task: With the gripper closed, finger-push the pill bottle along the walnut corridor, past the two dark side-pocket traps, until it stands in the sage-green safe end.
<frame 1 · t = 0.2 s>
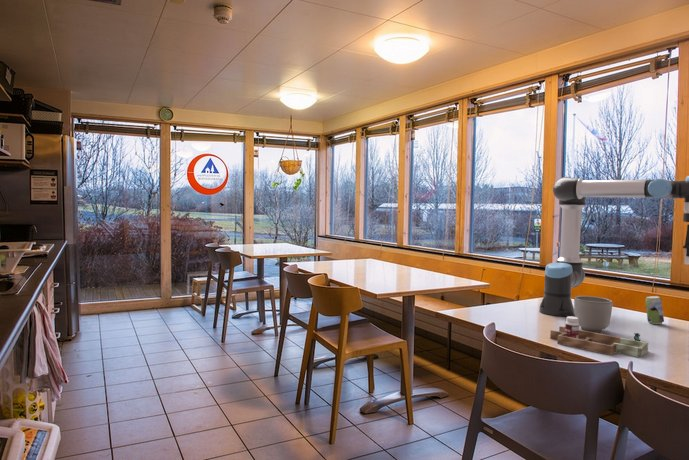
beverage can: (653, 323, 208), on the table
trap box: (594, 345, 171), on the table
planter: (591, 330, 193), on the table
pill bottle: (571, 339, 179), resting in trap box
sculpture: (638, 344, 177), on the table
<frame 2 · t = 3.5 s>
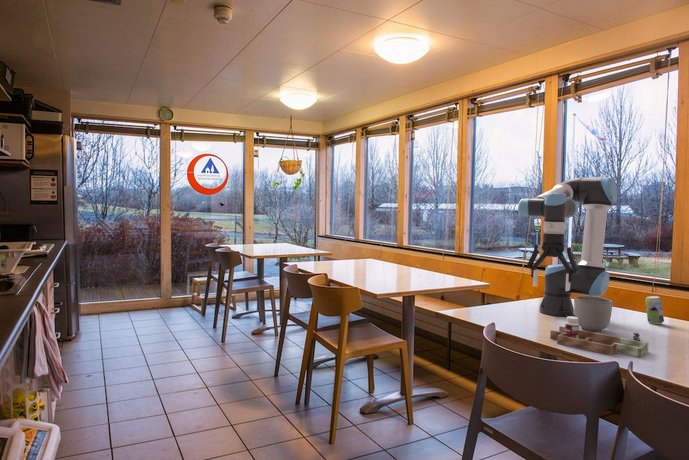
hand: (551, 288, 184), 18 cm above the table, fingers open, 12 cm apart
nothing on the table moved.
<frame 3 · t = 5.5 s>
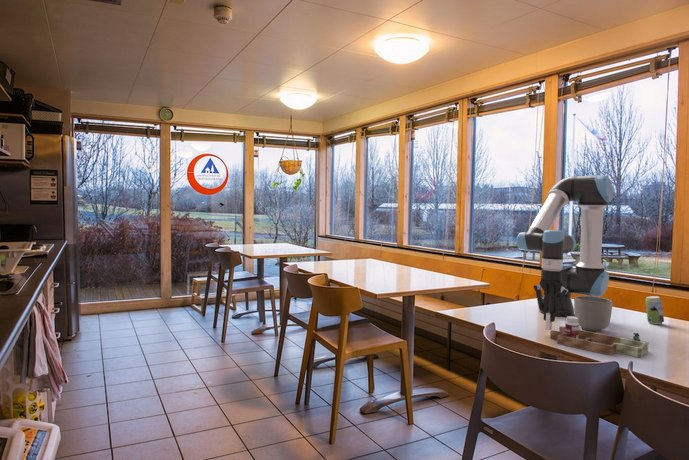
hand: (548, 329, 185), 2 cm above the table, fingers closed
nothing on the table moved.
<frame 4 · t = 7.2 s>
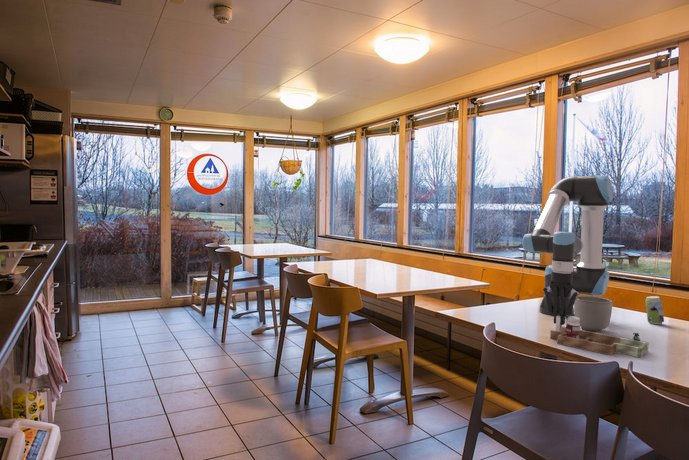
hand: (558, 332, 182), 2 cm above the table, fingers closed
pill bottle: (571, 339, 179), resting in trap box, touching gripper
everything else where it was.
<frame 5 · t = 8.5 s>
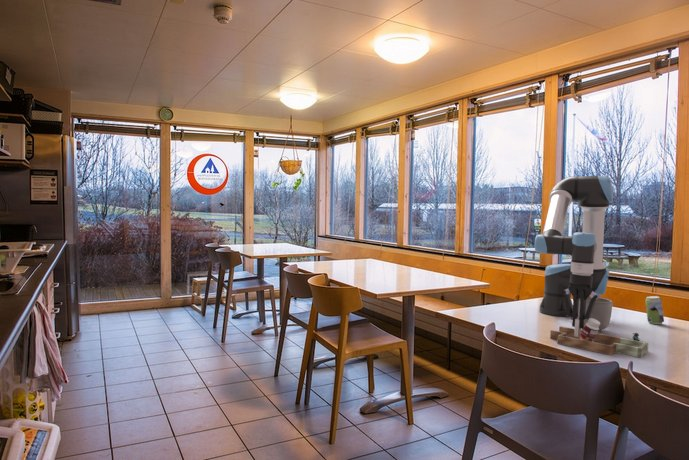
hand: (577, 336, 177), 2 cm above the table, fingers closed
pill bottle: (585, 340, 176), point 1 cm above the table, touching gripper
everything else where it was.
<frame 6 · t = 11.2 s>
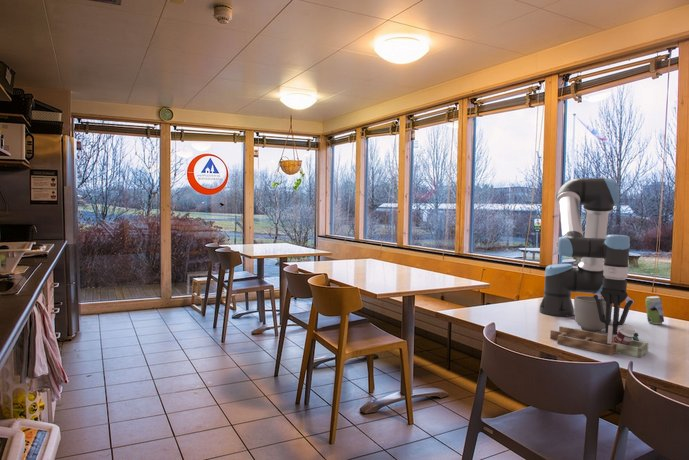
hand: (610, 342, 170), 2 cm above the table, fingers closed
pill bottle: (618, 347, 168), point 1 cm above the table, touching gripper
everything else where it was.
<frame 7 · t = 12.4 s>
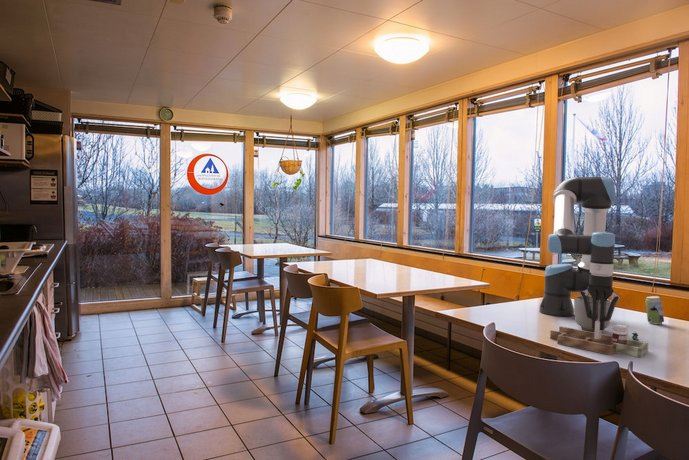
hand: (597, 338, 173), 2 cm above the table, fingers closed
pill bottle: (618, 349, 168), resting in trap box
everything else where it was.
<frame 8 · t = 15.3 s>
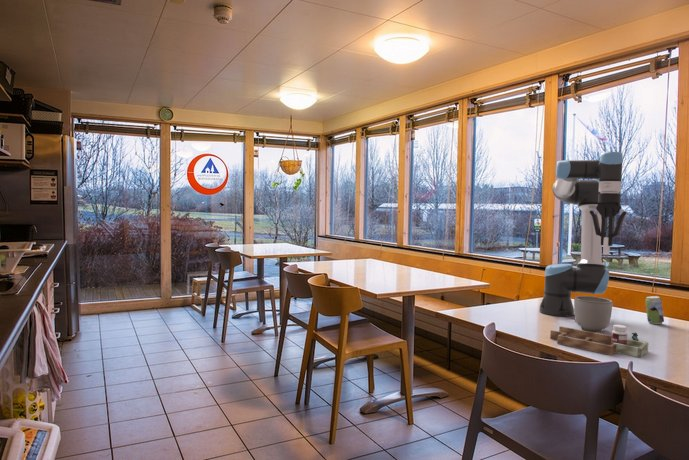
hand: (606, 254, 182), 32 cm above the table, fingers closed
nothing on the table moved.
at the end: pill bottle inside the target area (2.7 cm from its centre), resting in trap box; pill bottle tilted 0° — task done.
